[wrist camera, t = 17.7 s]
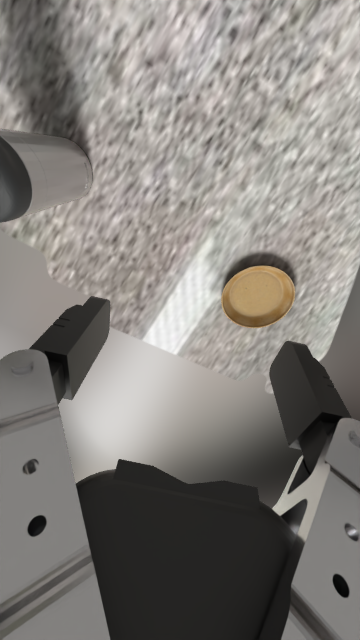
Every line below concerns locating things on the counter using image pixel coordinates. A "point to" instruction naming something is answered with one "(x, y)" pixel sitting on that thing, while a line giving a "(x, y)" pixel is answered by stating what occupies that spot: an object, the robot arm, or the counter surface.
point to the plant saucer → (258, 296)
